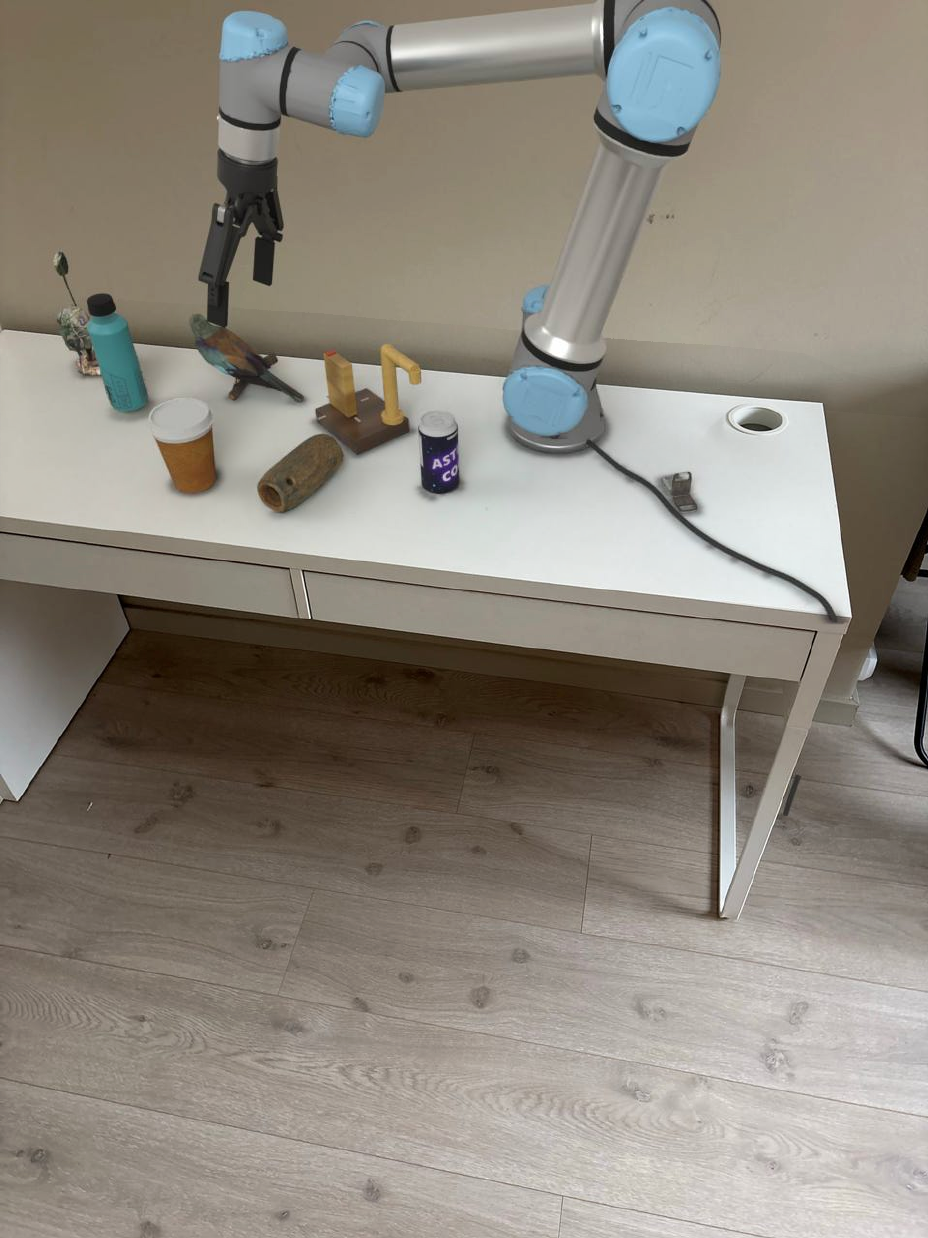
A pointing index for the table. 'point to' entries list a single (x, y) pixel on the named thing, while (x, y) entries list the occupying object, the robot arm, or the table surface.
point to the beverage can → (439, 452)
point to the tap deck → (361, 423)
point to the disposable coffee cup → (185, 442)
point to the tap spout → (395, 382)
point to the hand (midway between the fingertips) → (240, 302)
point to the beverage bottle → (115, 354)
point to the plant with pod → (75, 326)
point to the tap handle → (340, 383)
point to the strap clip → (680, 491)
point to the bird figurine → (236, 358)
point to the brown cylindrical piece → (300, 472)
